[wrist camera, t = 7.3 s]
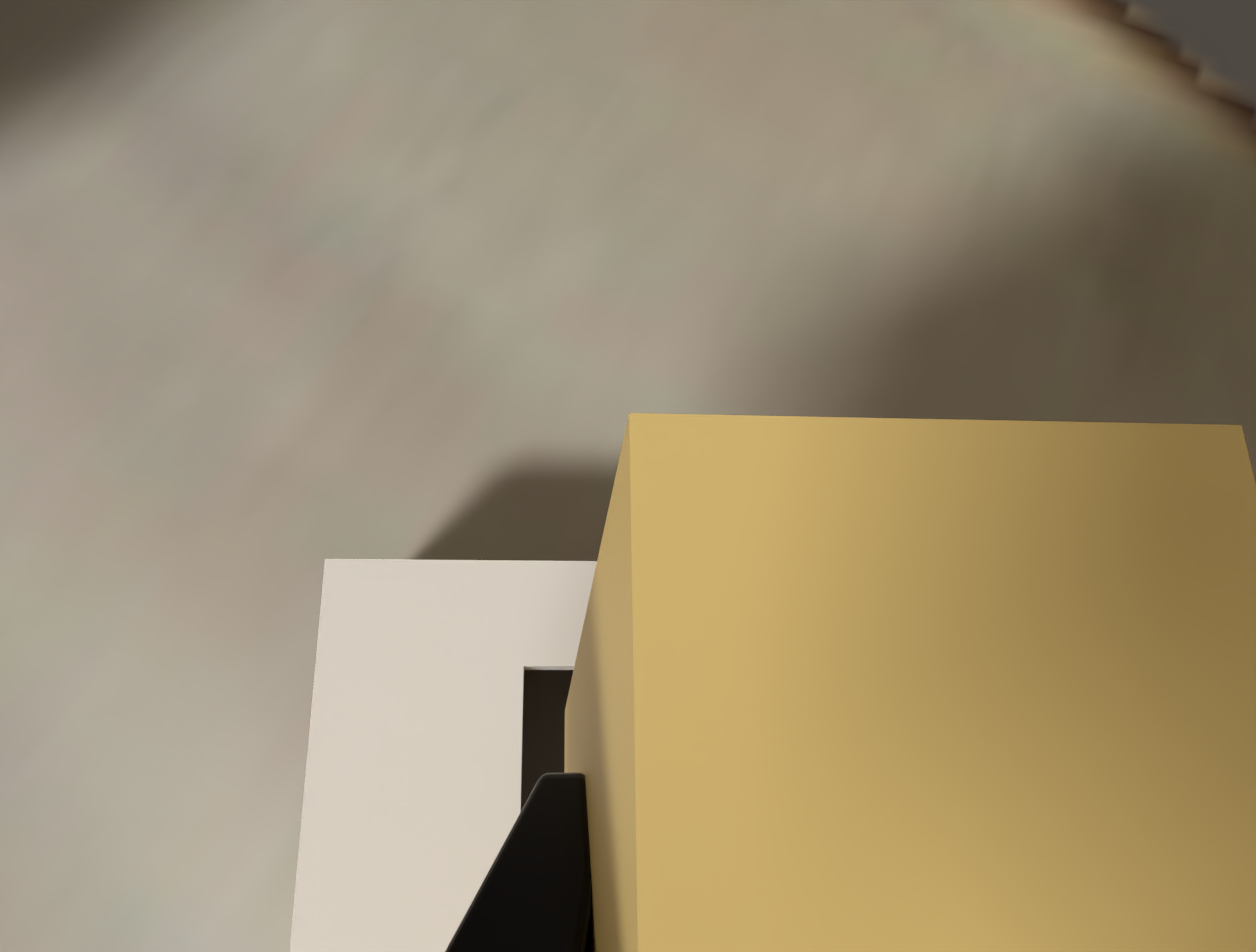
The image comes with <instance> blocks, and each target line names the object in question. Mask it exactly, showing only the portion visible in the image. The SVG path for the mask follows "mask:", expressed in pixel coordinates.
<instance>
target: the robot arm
mask: <svg viewBox="0 0 1256 952" xmlns="http://www.w3.org/2000/svg"><path fill="white" fill-rule="evenodd" d="M591 913H592V879H591V861H590V846H589V830H588V815H587V799H586V784H585V775H584V774H583V773H579V772H574V773H545V774H543V775H542V776H541V777H540V778H539V779H538V781H537V783H536V785H535V786H534V788H533V790H532V792H531V794H530V796H529V798H528V799H527V801H526V803H525V805H524V807H523V809H522V810H521V812H520V814H519V816H518V818H517V820H516V822H515V823H514V825H513V827H512V829H511V831H510V833H509V834H508V836H507V838H506V840H505V842H504V844H503V846H502V847H501V849H500V851H499V853H498V855H497V857H496V858H495V860H494V862H493V864H492V866H491V868H490V870H489V871H488V873H487V875H486V877H485V879H484V881H483V882H482V884H481V886H480V888H479V890H478V892H477V894H476V895H475V897H474V899H473V901H472V903H471V905H470V906H469V908H468V910H467V912H466V914H465V916H464V917H463V919H462V921H461V923H460V925H459V927H458V929H457V930H456V932H455V934H454V936H453V938H452V940H451V941H450V943H449V945H448V947H447V949H446V951H445V952H590V935H591Z"/></svg>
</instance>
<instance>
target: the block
mask: <svg viewBox="0 0 1256 952" xmlns="http://www.w3.org/2000/svg"><path fill="white" fill-rule="evenodd" d="M574 772H579V773H583V774H584V775H585V784H586V799H587V815H588V830H589V846H590V861H591V879H592V913H591V935H590V952H1256V483H1255V479H1254V475H1253V471H1252V466H1251V462H1250V458H1249V454H1248V450H1247V445H1246V441H1245V437H1244V433H1243V429H1242V425H1215V424H1164V423H1112V422H1060V421H1008V420H957V419H905V418H853V417H801V416H750V415H698V414H646V413H629V416H628V421H627V426H626V430H625V435H624V439H623V444H622V449H621V453H620V458H619V463H618V467H617V472H616V476H615V481H614V486H613V490H612V495H611V499H610V504H609V509H608V513H607V518H606V523H605V527H604V532H603V536H602V541H601V546H600V550H599V555H598V559H597V564H596V569H595V573H594V578H593V583H592V587H591V592H590V596H589V601H588V606H587V610H586V615H585V619H584V624H583V629H582V633H581V638H580V643H579V647H578V652H577V656H576V661H575V666H574V670H573V675H572V680H571V684H570V689H569V693H568V698H567V703H566V707H565V767H564V773H574Z"/></svg>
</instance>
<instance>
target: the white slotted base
mask: <svg viewBox="0 0 1256 952" xmlns="http://www.w3.org/2000/svg"><path fill="white" fill-rule="evenodd" d="M596 564H597V561H523V560H400V559H325V565H324V576H323V587H322V598H321V609H320V620H319V631H318V643H317V654H316V665H315V676H314V687H313V698H312V709H311V720H310V731H309V742H308V754H307V765H306V776H305V787H304V798H303V809H302V820H301V831H300V842H299V853H298V864H297V876H296V887H295V898H294V909H293V920H292V931H291V942H290V952H445V951H446V949H447V947H448V945H449V943H450V941H451V940H452V938H453V936H454V934H455V932H456V930H457V929H458V927H459V925H460V923H461V921H462V919H463V917H464V916H465V914H466V912H467V910H468V908H469V906H470V905H471V903H472V901H473V899H474V897H475V895H476V894H477V892H478V890H479V888H480V886H481V884H482V882H483V881H484V879H485V877H486V875H487V873H488V871H489V870H490V868H491V866H492V864H493V862H494V860H495V858H496V857H497V855H498V853H499V851H500V849H501V847H502V846H503V844H504V842H505V840H506V838H507V836H508V834H509V833H510V831H511V829H512V827H513V825H514V823H515V822H516V820H517V818H518V816H519V814H520V812H521V810H522V809H523V807H524V805H525V803H526V801H527V799H528V798H529V796H530V794H531V792H532V790H533V788H534V786H535V785H536V783H537V781H538V779H539V778H540V777H541V776H542V775H543V774H545V773H564V767H565V707H566V703H567V698H568V693H569V689H570V684H571V680H572V675H573V670H574V666H575V661H576V656H577V652H578V647H579V643H580V638H581V633H582V629H583V624H584V619H585V615H586V610H587V606H588V601H589V596H590V592H591V587H592V583H593V578H594V573H595V569H596Z"/></svg>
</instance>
